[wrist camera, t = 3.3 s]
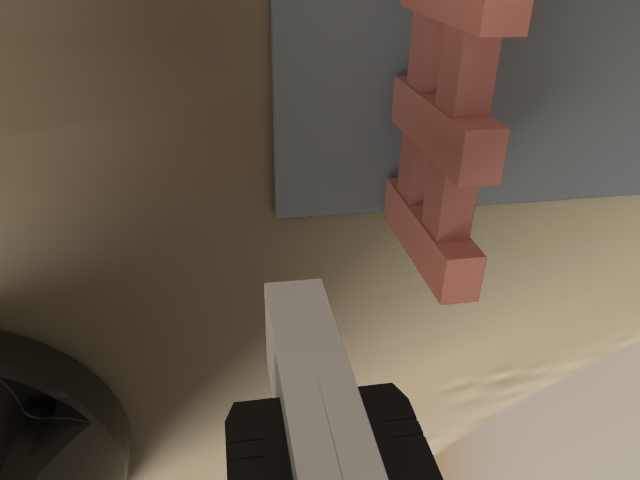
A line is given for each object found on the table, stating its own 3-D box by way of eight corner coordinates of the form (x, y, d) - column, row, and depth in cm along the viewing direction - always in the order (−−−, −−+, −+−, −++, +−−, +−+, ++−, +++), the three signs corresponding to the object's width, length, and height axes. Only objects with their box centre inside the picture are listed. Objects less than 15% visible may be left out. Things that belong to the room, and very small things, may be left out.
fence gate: (404, -124, 19) (506, -147, 13) (454, -122, 20) (577, -144, 13) (379, 218, 26) (438, 314, 19) (417, 215, 26) (488, 309, 20)
